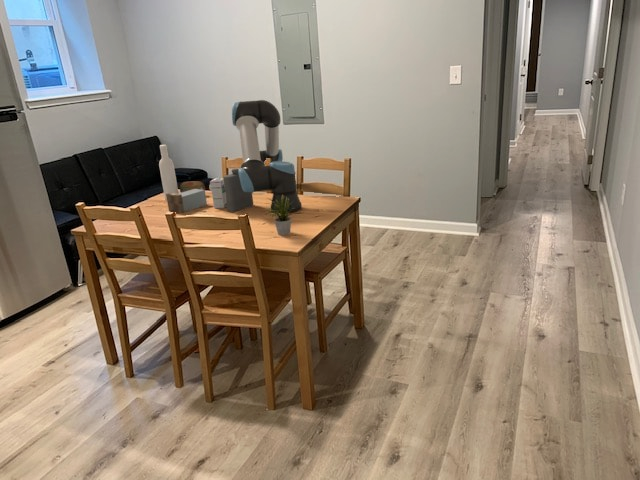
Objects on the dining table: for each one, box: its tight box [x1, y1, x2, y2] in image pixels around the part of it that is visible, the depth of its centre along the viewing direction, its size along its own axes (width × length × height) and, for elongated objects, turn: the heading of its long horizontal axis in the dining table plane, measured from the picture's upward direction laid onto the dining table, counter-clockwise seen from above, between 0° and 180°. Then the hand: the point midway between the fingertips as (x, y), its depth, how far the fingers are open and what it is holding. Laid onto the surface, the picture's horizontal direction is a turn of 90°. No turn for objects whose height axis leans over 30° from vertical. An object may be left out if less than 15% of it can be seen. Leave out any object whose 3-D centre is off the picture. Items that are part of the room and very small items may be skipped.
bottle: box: [158, 144, 180, 201], centre depth 280 cm, size 8×8×30 cm
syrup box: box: [209, 177, 227, 209], centre depth 257 cm, size 6×6×14 cm
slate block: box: [178, 189, 208, 213], centre depth 262 cm, size 8×15×8 cm, turn 143°
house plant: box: [265, 195, 296, 236], centre depth 210 cm, size 14×14×16 cm
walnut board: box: [166, 193, 185, 214], centre depth 256 cm, size 10×2×9 cm, turn 53°
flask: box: [222, 168, 254, 213], centre depth 251 cm, size 15×6×20 cm, turn 135°
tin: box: [179, 180, 206, 193], centre depth 286 cm, size 15×3×8 cm, turn 76°
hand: (210, 188), depth 273 cm, fingers closed
